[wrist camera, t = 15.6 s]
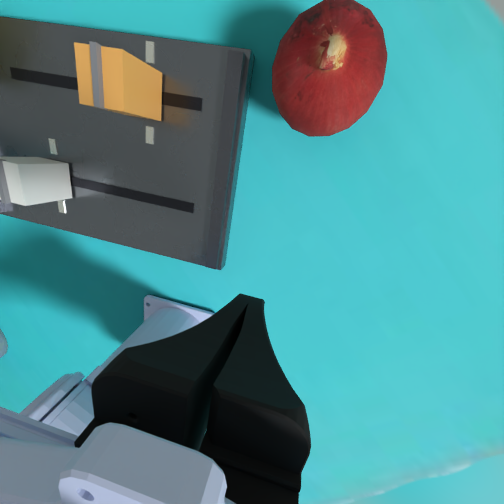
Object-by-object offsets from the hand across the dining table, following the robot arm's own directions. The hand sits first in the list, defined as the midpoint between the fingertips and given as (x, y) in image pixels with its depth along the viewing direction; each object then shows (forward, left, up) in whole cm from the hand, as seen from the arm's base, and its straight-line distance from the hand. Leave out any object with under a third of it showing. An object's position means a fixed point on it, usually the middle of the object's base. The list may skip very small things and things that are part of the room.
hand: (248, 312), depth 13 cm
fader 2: (+10, +11, -8) cm, 17 cm away
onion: (+12, -1, -10) cm, 15 cm away
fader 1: (+3, +20, -8) cm, 22 cm away
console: (+6, +16, -9) cm, 19 cm away
